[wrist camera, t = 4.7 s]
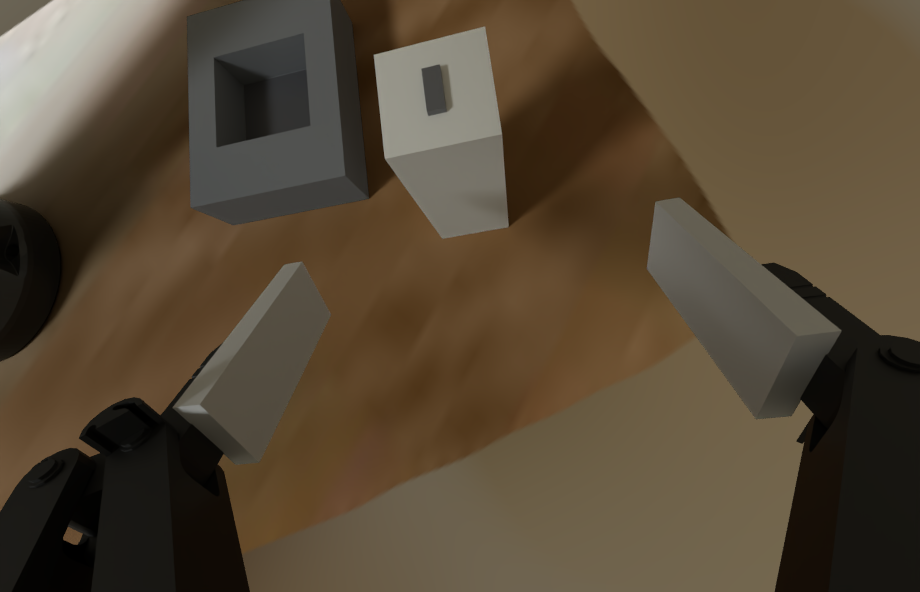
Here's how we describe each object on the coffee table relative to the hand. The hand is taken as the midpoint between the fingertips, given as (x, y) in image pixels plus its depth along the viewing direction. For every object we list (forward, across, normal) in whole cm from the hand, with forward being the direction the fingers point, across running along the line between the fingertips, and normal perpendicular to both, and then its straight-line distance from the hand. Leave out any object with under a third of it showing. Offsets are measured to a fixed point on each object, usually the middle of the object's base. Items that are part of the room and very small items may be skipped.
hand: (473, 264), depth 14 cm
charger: (+14, -1, -3) cm, 15 cm away
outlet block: (+21, -15, +4) cm, 26 cm away
